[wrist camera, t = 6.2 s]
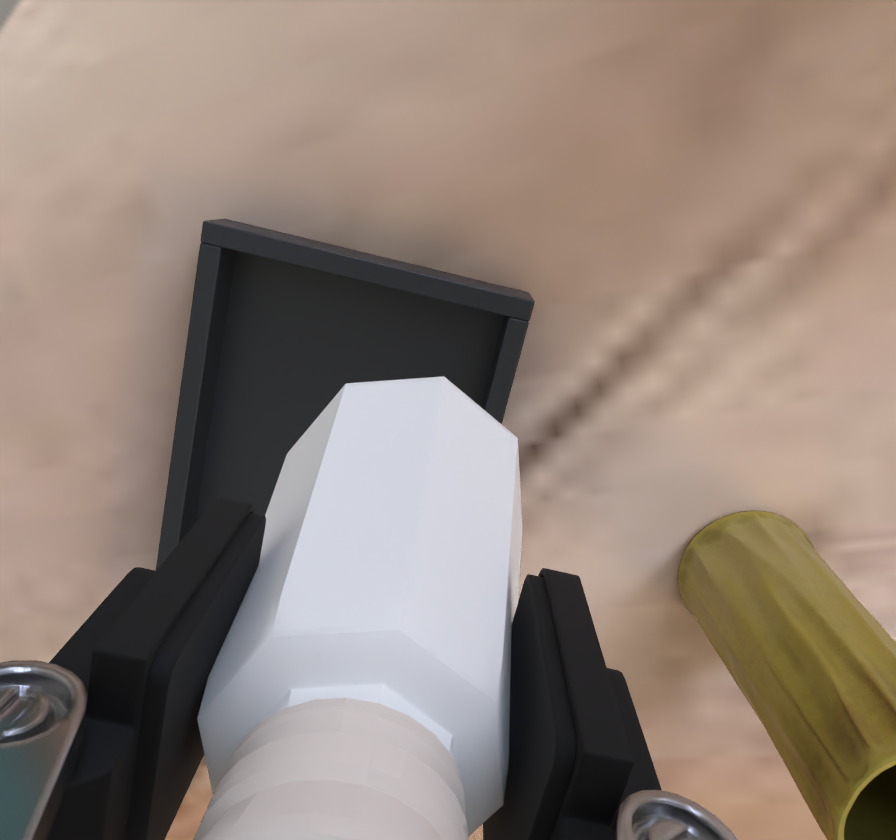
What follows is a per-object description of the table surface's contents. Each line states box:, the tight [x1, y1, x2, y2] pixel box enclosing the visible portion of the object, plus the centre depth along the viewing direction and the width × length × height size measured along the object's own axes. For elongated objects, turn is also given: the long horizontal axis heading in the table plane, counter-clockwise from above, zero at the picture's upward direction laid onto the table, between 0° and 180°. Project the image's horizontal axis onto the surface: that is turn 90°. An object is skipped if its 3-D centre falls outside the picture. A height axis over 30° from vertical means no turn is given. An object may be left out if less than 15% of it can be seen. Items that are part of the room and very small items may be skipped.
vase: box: [678, 511, 896, 840], centre depth 27 cm, size 6×6×14 cm
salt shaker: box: [193, 376, 522, 840], centre depth 11 cm, size 5×5×11 cm
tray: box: [156, 219, 534, 571], centre depth 32 cm, size 19×13×2 cm
